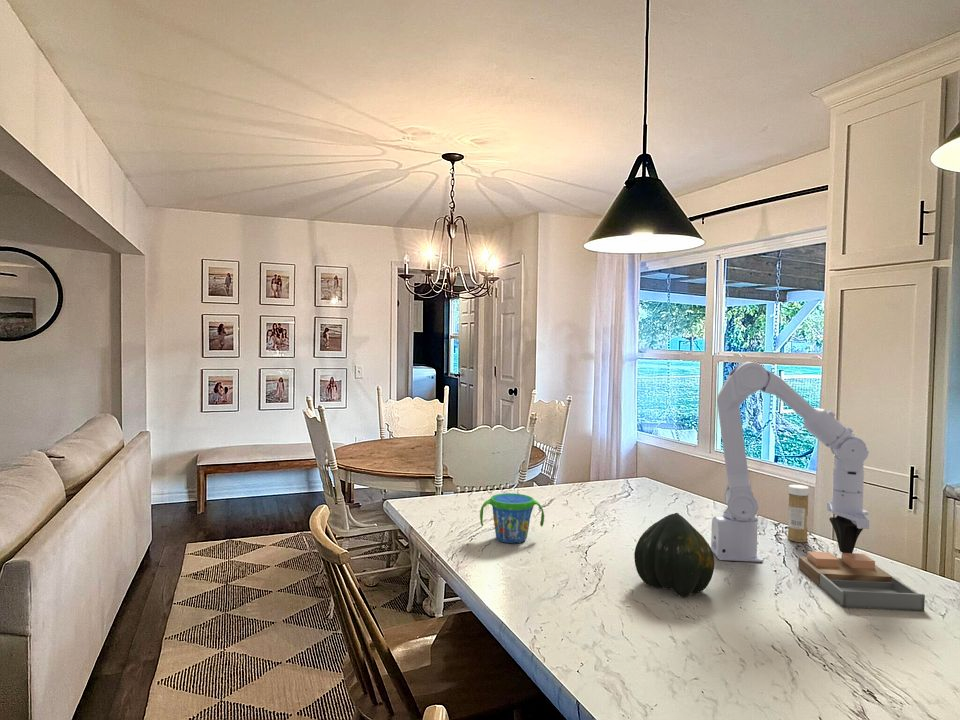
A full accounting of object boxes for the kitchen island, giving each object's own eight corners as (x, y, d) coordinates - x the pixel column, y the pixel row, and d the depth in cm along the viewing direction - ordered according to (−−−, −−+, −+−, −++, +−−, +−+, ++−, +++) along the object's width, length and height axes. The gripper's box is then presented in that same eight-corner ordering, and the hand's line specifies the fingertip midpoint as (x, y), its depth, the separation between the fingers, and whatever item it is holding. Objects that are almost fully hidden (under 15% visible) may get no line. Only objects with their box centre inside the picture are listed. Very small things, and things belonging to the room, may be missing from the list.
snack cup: (543, 533, 158) (543, 493, 158) (544, 547, 148) (545, 504, 147) (480, 532, 159) (481, 492, 159) (478, 545, 149) (478, 502, 148)
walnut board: (818, 585, 127) (818, 573, 126) (798, 567, 136) (798, 556, 136) (892, 588, 125) (892, 576, 125) (866, 570, 135) (867, 559, 135)
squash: (662, 581, 113) (702, 512, 118) (609, 559, 126) (646, 497, 131) (705, 623, 118) (742, 555, 123) (649, 597, 131) (684, 536, 136)
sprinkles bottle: (811, 541, 155) (813, 486, 155) (801, 544, 152) (802, 488, 152) (793, 536, 159) (794, 483, 158) (783, 539, 156) (784, 485, 156)
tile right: (851, 567, 130) (852, 560, 130) (841, 560, 134) (841, 552, 134) (874, 568, 129) (875, 561, 129) (863, 561, 134) (864, 553, 134)
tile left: (816, 566, 131) (816, 558, 130) (807, 558, 135) (807, 551, 135) (839, 567, 130) (839, 559, 130) (829, 559, 135) (829, 552, 135)
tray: (843, 607, 116) (843, 591, 116) (819, 586, 126) (819, 571, 126) (924, 611, 115) (924, 594, 115) (893, 589, 125) (894, 574, 125)
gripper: (885, 499, 129) (883, 564, 129) (850, 483, 144) (849, 542, 144) (849, 497, 130) (847, 563, 130) (818, 482, 144) (816, 541, 145)
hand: (846, 552), depth 137 cm, fingers closed
